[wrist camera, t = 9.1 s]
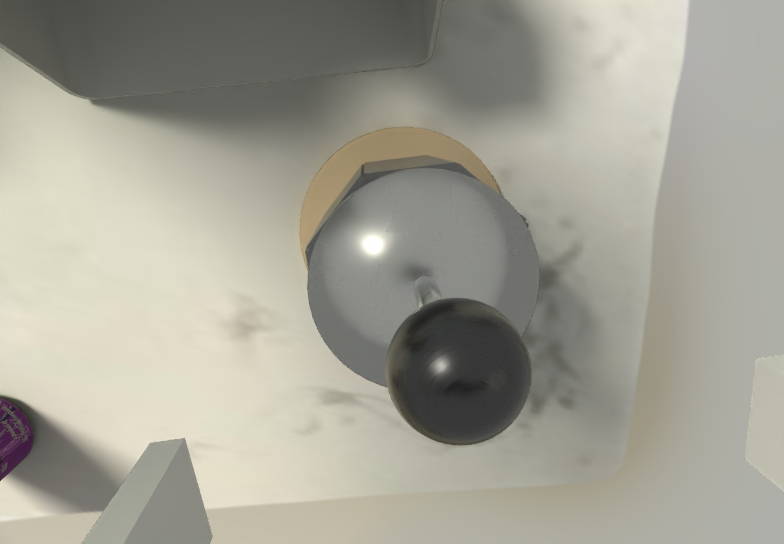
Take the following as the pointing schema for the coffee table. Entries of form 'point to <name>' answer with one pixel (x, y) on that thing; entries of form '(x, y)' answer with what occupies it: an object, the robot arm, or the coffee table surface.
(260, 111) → the coffee table surface
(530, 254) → the plunger
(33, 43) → the grey notched holder
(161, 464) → the robot arm
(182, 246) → the coffee table surface
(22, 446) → the beverage can
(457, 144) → the grey faceted container
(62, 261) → the coffee table surface
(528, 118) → the coffee table surface
